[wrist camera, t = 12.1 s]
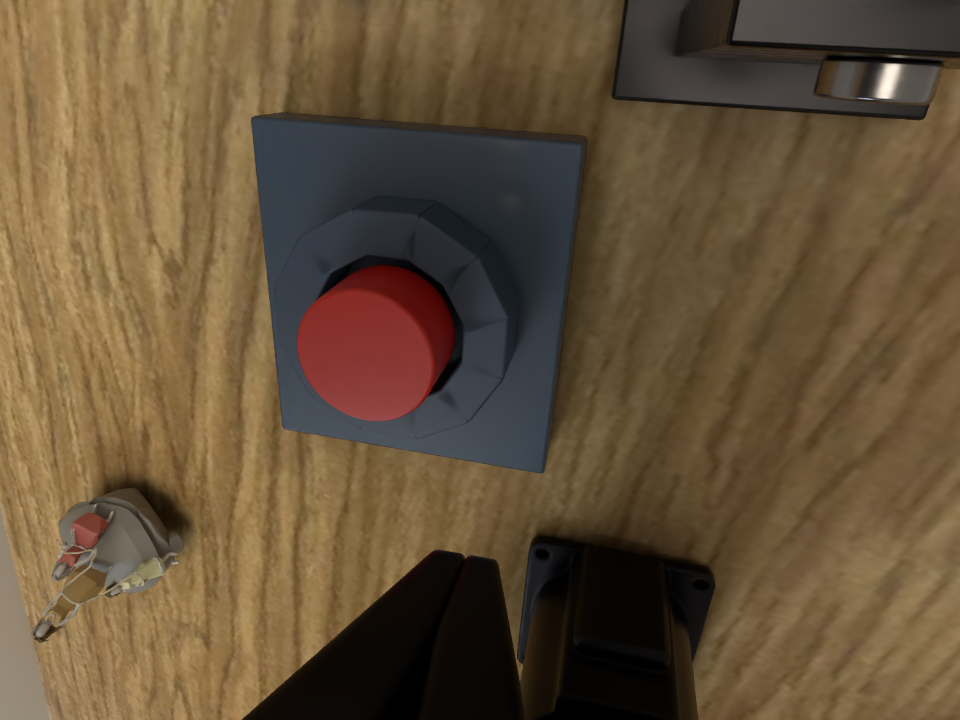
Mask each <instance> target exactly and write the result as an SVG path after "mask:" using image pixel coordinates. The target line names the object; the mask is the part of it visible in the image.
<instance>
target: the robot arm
mask: <svg viewBox="0 0 960 720" xmlns="http://www.w3.org/2000/svg"><path fill="white" fill-rule="evenodd" d="M539 549H545V550H547V551H548V552H542V551H540V550H539ZM697 579H702V580H704V581H702V582H696V581H695V580H697ZM714 589H715V580H714V575H713V573H712V571H711V570H710V569H708V568H707V567H704V566H700V565H695V564H690V563H685V562H679V561H674V560H669V559H663V558H658V557H653V556H648V555H642V554H637V553H632V552H627V551H621V550H616V549H611V548H605V547H600V546H595V545H590V544H584V543H579V542H574V541H568V540H563V539H558V538H553V537H547V536H538V537H535V538H534V539H533V540H532V542H531V544H530V549H529V556H528V565H527V573H526V582H525V591H524V599H523V608H522V616H521V625H520V634H519V642H518V651H517V659H518V660H519V662H520V663H522V664H523V668H522V674H521V680H520V681H519V675H518V670H517V664H516V659H515V653H514V648H513V642H512V637H511V631H510V626H509V620H508V615H507V609H506V604H505V598H504V592H503V587H502V581H501V576H500V570H499V565H498V563H497V561H496V560H494V559H490V558H484V557H478V556H473V555H470V556H468V557H467V558H466V559H465V556H464V555H462V554H461V553H455V552H450V551H444V550H435V551H432V552H431V553H430V554H429V555H428V556H426V557H425V558H424V559H423V560H422V561H421V562H420V563H419V564H417V565H416V566H415V567H414V568H413V569H412V570H411V571H409V572H408V573H407V574H406V575H405V576H404V577H403V578H402V579H400V580H399V581H398V582H397V583H396V584H395V585H394V586H393V587H391V588H390V589H389V590H388V591H387V592H386V593H385V594H383V595H382V596H381V597H380V598H379V599H378V600H377V601H376V602H374V603H373V604H372V605H371V606H370V607H369V608H368V609H366V610H365V611H364V612H363V613H362V614H361V615H360V616H359V617H357V618H356V619H355V620H354V621H353V622H352V623H351V624H349V625H348V626H347V627H346V628H345V629H344V630H343V631H342V632H340V633H339V634H338V635H337V636H336V637H335V638H334V639H333V640H331V641H330V642H329V643H328V644H327V645H326V646H325V647H323V648H322V649H321V650H320V651H319V652H318V653H317V654H316V655H314V656H313V657H312V658H311V659H310V660H309V661H308V662H306V663H305V664H304V665H303V666H302V667H301V668H300V669H299V670H297V671H296V672H295V673H294V674H293V675H292V676H291V677H290V678H288V679H287V680H286V681H285V682H284V683H283V684H282V685H280V686H279V687H278V688H277V689H276V690H275V691H274V692H273V693H271V694H270V695H269V696H268V697H267V698H266V699H265V700H263V701H262V702H261V703H260V704H259V705H258V706H257V707H256V708H254V709H253V710H252V711H251V712H250V713H249V714H248V715H247V716H245V717H244V718H243V719H242V720H698V713H697V704H696V695H695V685H694V676H693V667H692V663H693V659H694V656H695V653H696V649H697V646H698V643H699V639H700V636H701V633H702V629H703V626H704V623H705V619H706V616H707V613H708V609H709V606H710V603H711V599H712V596H713V593H714Z"/></svg>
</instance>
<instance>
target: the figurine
mask: <svg viewBox="0 0 960 720" xmlns="http://www.w3.org/2000/svg"><path fill="white" fill-rule="evenodd" d="M59 531H60V535H61V539H62V541H63V545H61V544H60V543H59V541H58V539H57V542H58V544H59V545H60V546H61V551H60V553H59V555H58V557H59V558H60V560H59V561H60V562H59V561H58V562H56V563H57V564H56V565H55V567H54V570H53V573H52V581H59V580H62V579H64V578H65V577H67V576H68V577H67V579H66V582H65V584H64V586H63V588H62V591H61V592H60V593H59V594H58V595H57V596H56V597H55V598H54V599H53V600H52V602H50V603H49V604H48V605H47V607H46V608H45V610H44V611H43V613H42V616H43V617H42V618H41V619H40V621H39V622H38V623H37V625H36V626H35V627H34V629H33V631H32V636H33V637H34V640H37V641H38V642H45V641H48V640H45V639H46V638H48V637H49V636H50V635H51V634H52V633H54V632H56V630H57V629H58V630H59V628H60V627H61V626H62V625H63V624H64V623H65V622H66V621H68V620H69V619H71V618H72V617H73V616H75V615H76V613H77V610H78V608H79V606H81V605H82V604H84V603H87V602H89V601H91V600H94V599H96V598H99V597H101V596H103V595H104V594H105V595H106V596H107V597H108V598H111V597H113V596H116V595H118V594H119V593H120V592H125V593H136V592H140V591H143V590H146V589H149V588H151V587H152V586H154V585H155V584H156V583H157V582H158V581H159V579H160V578H161V576H162V577H163V575H164V574H166V570H167V569H168V568H169V567H170V566H171V565H172V564H177V563H179V561H174V557H173V556H174V555H177V553H179V552H180V551H182V550H183V548H184V544H183V542H182V539H181V538H180V537H179V535H178V534H177V533H176V532H175V531H168V530H167V529H166V527H165V526H164V524H163V523H162V522H161V520H160V519H159V517H158V516H157V514H156V513H155V512H154V510H153V509H152V507H151V506H150V504H149V503H148V502H147V500H146V499H145V498H144V496H143V495H142V494H141V493H140V492H139V491H138V490H137V489H136V488H127V489H120V490H116V491H113V492H111V493H108V494H105V495H103V496H100V497H97V498H95V499H93V500H92V501H91V502H80V503H77V504H75V505H74V506H72V507H71V508H70V509H69V510H68V512H67V514H66V516H65V517H63V518H62V519H60V520H59ZM66 550H67V551H66ZM74 566H75V567H74ZM72 567H74V568H72ZM76 567H78V569H76V570H75V571H74V572H72V571H73V570H74V569H75V568H76ZM71 568H72V569H71ZM70 569H71V570H70ZM69 570H70V571H69ZM71 572H72V573H71ZM70 573H71V574H70ZM69 574H70V575H69ZM65 575H66V576H65ZM104 586H106V587H107V589H106V591H105V592H104V593H102V594H100V595H98V593H99V592H100V591H101V590H102V589H103V587H104ZM97 595H98V596H97ZM58 598H59V599H58ZM57 599H58V602H57V604H56V605H55V606H54V607H53V608H52V609H51V607H52V606H53V604H54V603H55V602H56V600H57ZM50 609H51V610H50ZM49 610H50V611H49ZM72 610H74V611H73V613H71V614H70V615H69V616H67V617H66V615H67V614H68V612H69V611H72ZM48 611H49V612H48ZM65 617H66V618H65ZM64 618H65V619H64ZM42 621H44V622H42ZM41 622H42V623H41ZM40 623H41V624H40ZM58 626H59V627H58ZM56 627H57V628H56ZM55 628H56V629H55ZM61 628H62V627H61ZM58 630H57V631H58Z"/></svg>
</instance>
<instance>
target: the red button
mask: <svg viewBox="0 0 960 720" xmlns="http://www.w3.org/2000/svg"><path fill="white" fill-rule="evenodd" d="M454 344H455V328H454V322H453V318H452V315H451V312H450V310H449V308H448V305H447V304H446V302H445V300H444V299H443V297H442V296H441V295H440V293H439V292H438V291H437V290H436V289H435V288H434V287H433V286H432V285H431V284H430V283H429V282H428V281H427V280H425V279H424V278H423V277H421V276H419V275H418V274H416V273H414V272H412V271H410V270H407V269H404V268H401V267H397V266H392V265H373V266H368V267H365V268H362V269H359V270H357V271H355V272H354V273H352V274H350V275H349V276H348V277H346V278H345V279H344V280H342V281H341V282H340V283H338V284H337V285H336V286H334V287H333V288H332V289H330V290H329V291H328V292H326V293H325V294H324V295H322V296H321V297H320V298H318V299H317V300H316V301H315V302H313V304H312V305H311V306H310V307H309V308H308V309H307V311H306V312H305V314H304V316H303V318H302V320H301V322H300V326H299V330H298V336H297V351H298V357H299V361H300V364H301V367H302V370H303V372H304V374H305V376H306V378H307V380H308V381H309V383H310V384H311V386H312V387H313V389H314V390H315V391H316V392H317V393H318V394H319V395H320V396H321V397H322V398H323V399H324V400H325V401H326V402H327V403H329V404H330V405H331V406H333V407H334V408H336V409H337V410H339V411H341V412H343V413H345V414H347V415H349V416H352V417H355V418H358V419H362V420H367V421H388V420H393V419H397V418H400V417H403V416H405V415H407V414H409V413H411V412H412V411H414V410H415V409H416V408H418V407H419V406H420V405H421V404H422V403H423V402H424V400H425V399H426V398H427V396H428V395H429V393H430V391H431V390H432V388H433V386H434V385H435V383H436V381H437V380H438V378H439V376H440V375H441V373H442V372H443V370H444V368H445V367H446V365H447V363H448V362H449V360H450V358H451V355H452V353H453V349H454Z"/></svg>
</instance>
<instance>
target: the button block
mask: <svg viewBox="0 0 960 720" xmlns="http://www.w3.org/2000/svg"><path fill="white" fill-rule="evenodd" d="M251 123H252V133H253V143H254V153H255V162H256V172H257V182H258V192H259V201H260V211H261V221H262V230H263V240H264V250H265V260H266V269H267V279H268V289H269V299H270V308H271V318H272V328H273V338H274V347H275V357H276V367H277V377H278V386H279V396H280V406H281V415H282V425H283V428H284V429H287V430H292V431H298V432H304V433H310V434H316V435H321V436H327V437H333V438H339V439H345V440H350V441H356V442H362V443H368V444H374V445H379V446H385V447H391V448H397V449H403V450H408V451H414V452H420V453H426V454H432V455H437V456H443V457H449V458H455V459H461V460H466V461H472V462H478V463H484V464H490V465H495V466H501V467H507V468H513V469H519V470H524V471H530V472H536V473H543V472H544V471H545V466H546V461H547V456H548V451H549V446H550V439H551V431H552V423H553V415H554V407H555V399H556V391H557V382H558V374H559V366H560V358H561V350H562V342H563V334H564V326H565V318H566V310H567V301H568V293H569V285H570V277H571V269H572V261H573V253H574V245H575V237H576V228H577V220H578V212H579V204H580V196H581V188H582V180H583V172H584V164H585V155H586V147H587V138H586V137H584V136H574V135H561V134H548V133H536V132H523V131H510V130H498V129H485V128H472V127H460V126H447V125H434V124H422V123H409V122H397V121H384V120H371V119H359V118H346V117H333V116H321V115H308V114H295V113H283V112H281V113H274V114H266V115H259V116H253V117H252V118H251ZM373 265H392V266H397V267H401V268H404V269H407V270H410V271H412V272H414V273H416V274H418V275H419V276H421V277H423V278H424V279H425V280H427V281H428V282H429V283H430V284H431V285H432V286H433V287H434V288H435V289H436V290H437V291H438V292H439V293H440V295H441V296H442V297H443V299H444V300H445V302H446V304H447V305H448V308H449V310H450V312H451V315H452V318H453V322H454V328H455V344H454V349H453V353H452V355H451V358H450V360H449V362H448V363H447V365H446V367H445V368H444V370H443V372H442V373H441V375H440V376H439V378H438V380H437V381H436V383H435V385H434V386H433V388H432V390H431V391H430V393H429V395H428V396H427V398H426V399H425V400H424V402H423V403H422V404H421V405H420V406H419V407H418V408H416V409H415V410H414V411H412V412H411V413H409V414H407V415H405V416H403V417H400V418H397V419H393V420H388V421H367V420H362V419H358V418H355V417H352V416H349V415H347V414H345V413H343V412H341V411H339V410H337V409H336V408H334V407H333V406H331V405H330V404H329V403H327V402H326V401H325V400H324V399H323V398H322V397H321V396H320V395H319V394H318V393H317V392H316V391H315V390H314V389H313V387H312V386H311V384H310V383H309V381H308V380H307V378H306V376H305V374H304V372H303V370H302V367H301V364H300V361H299V357H298V351H297V336H298V330H299V326H300V322H301V320H302V318H303V316H304V314H305V312H306V311H307V309H308V308H309V307H310V306H311V305H312V304H313V302H315V301H316V300H317V299H318V298H320V297H321V296H322V295H324V294H325V293H326V292H328V291H329V290H330V289H332V288H333V287H334V286H336V285H337V284H338V283H340V282H341V281H342V280H344V279H345V278H346V277H348V276H349V275H350V274H352V273H354V272H355V271H357V270H359V269H362V268H365V267H368V266H373Z"/></svg>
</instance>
